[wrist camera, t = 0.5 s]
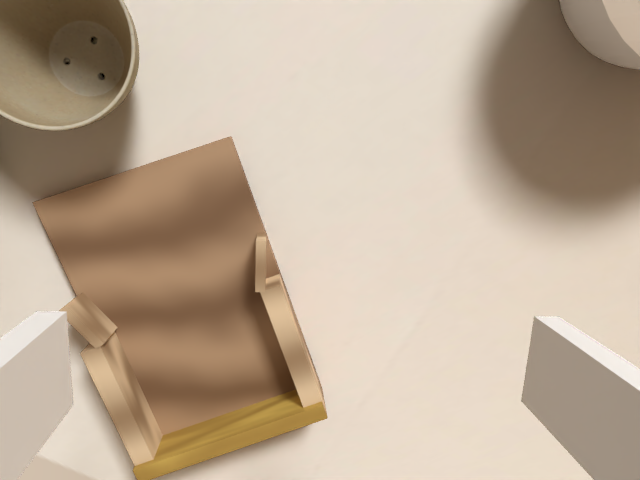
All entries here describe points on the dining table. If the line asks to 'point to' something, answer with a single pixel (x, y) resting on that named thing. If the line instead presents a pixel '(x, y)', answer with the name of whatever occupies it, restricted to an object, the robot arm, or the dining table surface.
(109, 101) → the flower pot
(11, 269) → the dining table surface
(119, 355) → the slot board
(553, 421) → the robot arm
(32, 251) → the dining table surface
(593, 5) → the bowl
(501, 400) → the dining table surface
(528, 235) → the dining table surface
